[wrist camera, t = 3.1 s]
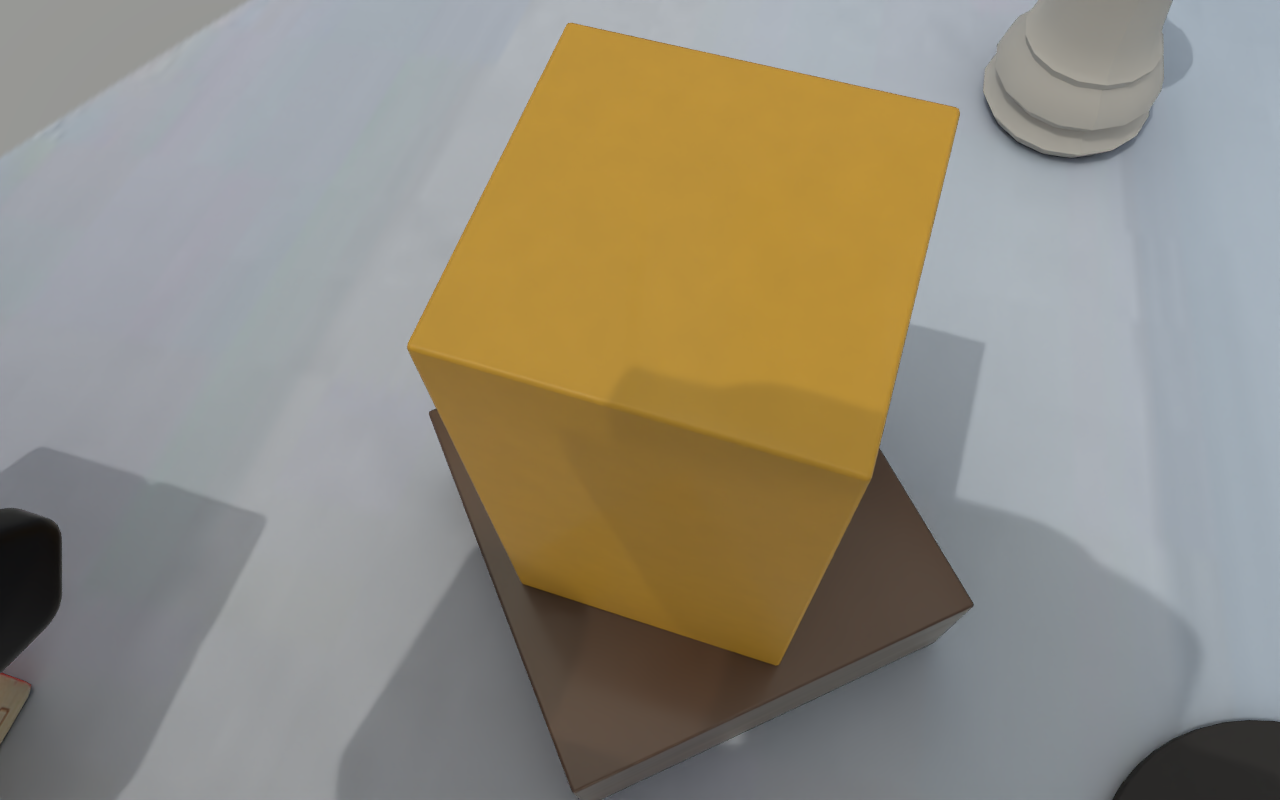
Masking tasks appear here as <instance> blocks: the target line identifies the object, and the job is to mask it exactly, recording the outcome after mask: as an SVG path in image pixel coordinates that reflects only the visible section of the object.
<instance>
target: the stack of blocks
mask: <svg viewBox="0 0 1280 800" xmlns="http://www.w3.org/2000/svg"><path fill="white" fill-rule="evenodd" d="M30 689H31V684H29V683H27V682H26V681H23V680H20V679H18V678H15V677H12V676H9V675H6V674H4V673H0V744H1V742H2V741H3V739H4V737H5V736H6V734H7V732H8V731H9V729H10V727H11V726H12V724H13V722H14V721H15V719H16V717H17V715H18V714H19V712H20V710H21V708H22V707H23V705H24V703H25V701H26V700H27V698H28V696H29V693H30Z"/></svg>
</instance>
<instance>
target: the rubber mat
mask: <svg viewBox="0 0 1280 800" xmlns="http://www.w3.org/2000/svg"><path fill="white" fill-rule="evenodd" d="M1113 800H1280V722H1276V721H1257V720H1245V721H1234V722H1224V723H1220V724H1216V725H1212V726H1208V727H1203V728H1200V729H1196V730H1194V731H1191V732H1189V733H1186V734H1184V735H1182V736H1179V737H1177V738H1174V739H1173V740H1171V741H1169V742H1168V743H1166V744H1164V745H1163V746H1161V747H1160V748H1158V749H1156V750H1155V751H1153V752H1152V753H1151V754H1150V755H1149V756H1148V757H1147V758H1145V759H1144V760H1143V761H1142V762H1141V763H1140V764H1139V765H1137V766H1136V768H1135V769H1134V770H1133V771H1132V773H1131V774H1130V775H1129V776H1128V777H1127V779H1126V780H1125V781H1124V782H1123V783H1122V785H1121V787H1120V788H1119V790H1118V792H1117V793H1116V795H1115V797H1114V799H1113Z"/></svg>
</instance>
